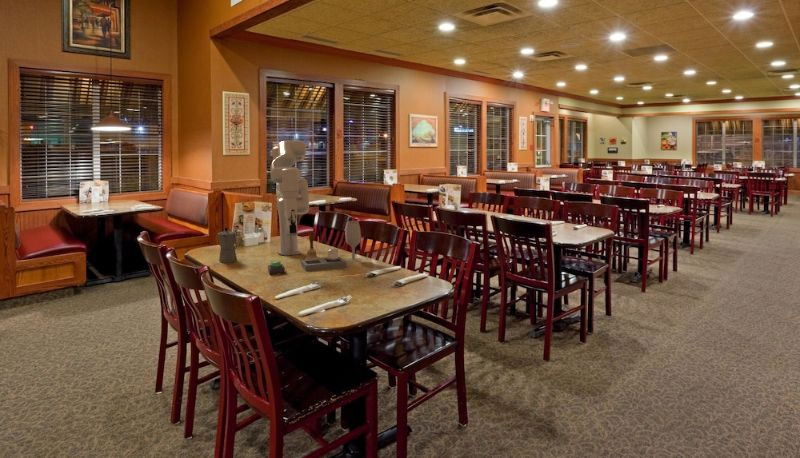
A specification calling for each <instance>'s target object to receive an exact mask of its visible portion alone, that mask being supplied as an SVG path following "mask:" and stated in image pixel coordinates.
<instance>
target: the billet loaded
mask: <svg viewBox="0 0 800 458" xmlns="http://www.w3.org/2000/svg"><path fill="white" fill-rule="evenodd" d="M338 257H339V250H338V248H328V249H327V258H328V262H337V261H338Z"/></svg>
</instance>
